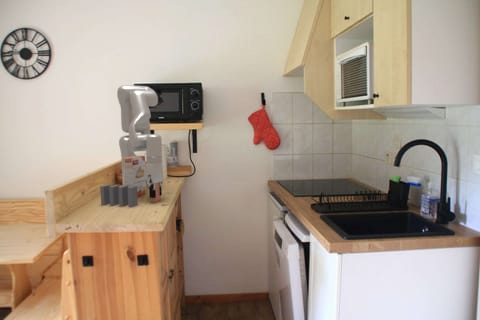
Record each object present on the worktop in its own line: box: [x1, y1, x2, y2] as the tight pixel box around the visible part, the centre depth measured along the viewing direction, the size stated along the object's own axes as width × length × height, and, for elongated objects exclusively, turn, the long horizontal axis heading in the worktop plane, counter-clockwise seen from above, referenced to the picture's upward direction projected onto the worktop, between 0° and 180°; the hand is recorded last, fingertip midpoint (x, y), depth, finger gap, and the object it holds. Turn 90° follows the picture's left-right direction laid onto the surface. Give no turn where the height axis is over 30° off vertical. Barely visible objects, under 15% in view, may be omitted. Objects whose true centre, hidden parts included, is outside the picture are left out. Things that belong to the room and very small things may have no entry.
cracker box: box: [123, 155, 147, 197], centre depth 195 cm, size 14×6×21 cm, turn 168°
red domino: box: [151, 183, 161, 203], centre depth 180 cm, size 2×5×9 cm, turn 162°
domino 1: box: [99, 184, 111, 206], centre depth 175 cm, size 2×5×9 cm, turn 163°
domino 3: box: [118, 185, 128, 207], centre depth 172 cm, size 2×5×9 cm, turn 163°
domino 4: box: [127, 186, 139, 208], centre depth 170 cm, size 2×5×9 cm, turn 163°
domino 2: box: [109, 184, 120, 207], centre depth 173 cm, size 2×5×9 cm, turn 163°
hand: (155, 196), depth 181 cm, fingers closed on red domino, 4 cm apart
